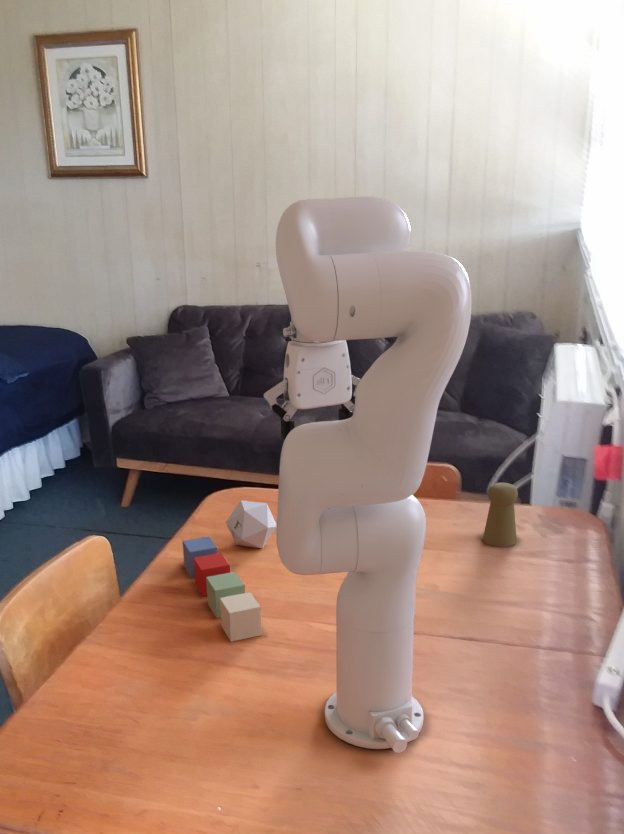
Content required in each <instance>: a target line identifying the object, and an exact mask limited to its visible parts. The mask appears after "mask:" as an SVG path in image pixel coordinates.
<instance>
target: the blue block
mask: <svg viewBox="0 0 624 834" xmlns="http://www.w3.org/2000/svg"><path fill="white" fill-rule="evenodd" d="M182 552H183V566H184V568H185V569H186V571H187V573H188V575H189V576H190V578H195V575H194V559H193V558H195V557H200V556H206V555H211V554H217V553H218V546H217V545H216V544H215V542H214V541H213V540H212V538H211V536H210V535H209V536H203V537H198V538H191V539H186V540H182Z"/></svg>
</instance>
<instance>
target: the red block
mask: <svg viewBox="0 0 624 834" xmlns="http://www.w3.org/2000/svg"><path fill="white" fill-rule="evenodd" d="M193 559H194V575H195V577H194V585H195V587H196V588H197V589H198V591H199V593H200V594H201V596H202V597H207V584H206V577H210V576H215V575H220V574H225V573H231V565H230V563H229V561H228V560H227V559H226V557H225V556H224V554H223V553H222V552H217V554H211V555H206V556H200V557H195V558H193Z"/></svg>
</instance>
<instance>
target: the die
mask: <svg viewBox="0 0 624 834" xmlns="http://www.w3.org/2000/svg"><path fill="white" fill-rule="evenodd" d="M225 524H226V526H227V529H228V530H229V532H230V535H231V537H232V538H233V541H234V542H235V545H236V546H242V547H249V548H257V549H263V548H264V547H265V546H266V544H267V543H268V541H269V539H270V538H271V537H272V535H273V534H274V532H276V530H277V521H276V520H275V518H274V515H273V514H272V512H271V509H270V507H269V504H268V503H266V502H260V501H259V502H258V501H252V500H251V501H250V500H243V499H241V500H240V501H239V502H238V504H236V507H235V508H234V509H233V510H232V512H231V513H230V515H229V516H228V517H227V519H226V520H225Z"/></svg>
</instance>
